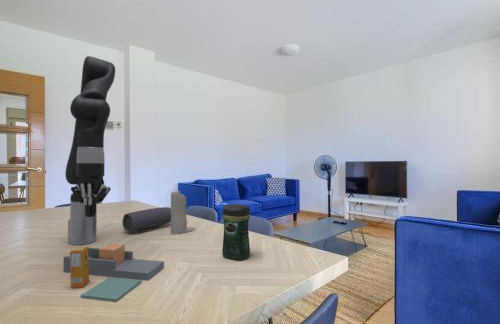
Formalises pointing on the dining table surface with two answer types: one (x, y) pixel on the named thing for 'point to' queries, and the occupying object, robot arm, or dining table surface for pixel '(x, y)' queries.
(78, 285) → the supplement box
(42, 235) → the dining table surface
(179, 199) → the candle
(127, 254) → the channel
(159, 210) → the bluetooth speaker
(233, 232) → the coffee jar
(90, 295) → the pad
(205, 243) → the dining table surface
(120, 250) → the block
